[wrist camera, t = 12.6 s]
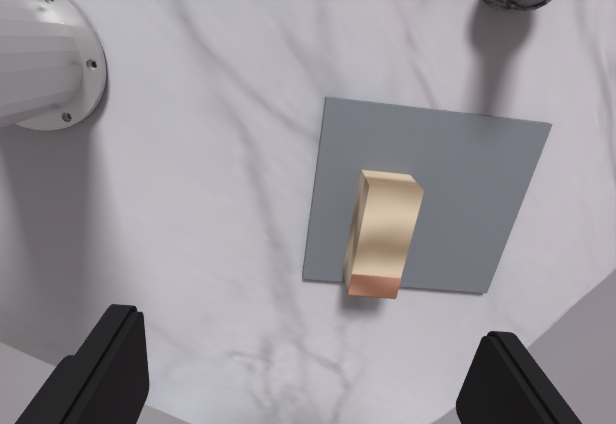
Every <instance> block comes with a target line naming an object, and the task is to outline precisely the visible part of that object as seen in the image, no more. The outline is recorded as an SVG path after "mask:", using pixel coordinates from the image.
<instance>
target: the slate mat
mask: <svg viewBox="0 0 616 424" xmlns="http://www.w3.org/2000/svg"><path fill="white" fill-rule="evenodd" d="M551 127H552V124H550V123H545V122H537V121H528V120H520V119H511V118H503V117H494V116H486V115H477V114H468V113H460V112H451V111H443V110H434V109H426V108H417V107H409V106H400V105H392V104H383V103H375V102H366V101H358V100H349V99H341V98H332V97H326V98H325V105H324V113H323V121H322V128H321V136H320V144H319V151H318V159H317V166H316V174H315V182H314V189H313V197H312V205H311V212H310V220H309V227H308V235H307V243H306V250H305V258H304V265H303V273H302V279H312V280H325V281H338V282H345V280H344V275H343V266H344V260H345V255H346V250H347V244H348V239H349V234H350V228H351V223H352V217H353V212H354V207H355V201H356V196H357V191H358V185H359V180H360V175H361V170H369V171H379V172H388V173H398V174H407V175H411V176H412V178H413V179H414V180H415V181H416V182H417V183H418V185H419V186H420V187H421V188H422V189H423V190H424V194H423V198H422V201H421V205H420V209H419V213H418V216H417V220H416V224H415V227H414V231H413V235H412V239H411V242H410V246H409V250H408V254H407V257H406V261H405V265H404V269H403V272H402V276H401V282H400V286H401V287H414V288H426V289H439V290H452V291H464V292H477V293H487V292H488V289H489V286H490V284H491V281H492V279H493V276H494V274H495V271H496V268H497V266H498V263H499V261H500V258H501V256H502V253H503V250H504V248H505V245H506V243H507V240H508V238H509V235H510V232H511V230H512V227H513V225H514V222H515V220H516V217H517V214H518V212H519V209H520V207H521V204H522V201H523V199H524V196H525V194H526V191H527V189H528V186H529V183H530V181H531V178H532V176H533V173H534V171H535V168H536V165H537V163H538V160H539V158H540V155H541V153H542V150H543V147H544V145H545V142H546V140H547V137H548V135H549V132H550V129H551Z"/></svg>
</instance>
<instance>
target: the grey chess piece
mask: <svg viewBox="0 0 616 424" xmlns="http://www.w3.org/2000/svg"><path fill="white" fill-rule="evenodd" d="M484 1H485V2H486V3H487V4H488V5H489V6H490V7H492V8H494V9H498V10H508V9H515V10H520V11H529V10H535V9H537V8H540V7H542V6H544V5H546V4H547V3H549V2H550V1H551V0H484Z"/></svg>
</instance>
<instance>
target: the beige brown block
mask: <svg viewBox="0 0 616 424" xmlns="http://www.w3.org/2000/svg"><path fill="white" fill-rule="evenodd" d="M423 194H424V190H423V189H422V188H421V187H420V186H419V185H418V183H417V182H416V181H415V180H414V179H413V178H412V176H411V175H407V174H398V173H388V172H379V171H369V170H361V175H360V180H359V185H358V191H357V196H356V201H355V207H354V212H353V217H352V223H351V228H350V234H349V239H348V244H347V250H346V255H345V260H344V266H343V275H344V280H345V285H346V289H347V294H348V295H351V296H364V297H377V298H390V299H395V298H396V297H397V293H398V290H399V286H400V282H401V276H402V272H403V269H404V265H405V261H406V257H407V254H408V250H409V246H410V242H411V239H412V235H413V231H414V227H415V224H416V220H417V216H418V213H419V209H420V205H421V201H422V198H423Z"/></svg>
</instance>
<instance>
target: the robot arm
mask: <svg viewBox="0 0 616 424" xmlns="http://www.w3.org/2000/svg"><path fill="white" fill-rule="evenodd" d="M94 62H96V65H97V67H95V66H94ZM105 82H106V63H105V58H104V54H103V49H102V46H101V44H100V41H99V39H98V36H97V34H96V32H95V30H94V28H93V27H92V25H91V24H90V22H89V20H88V19H87V17H86V16H85V15H84V13H83V12H82V11H81V10H80V9H79V7H78V6H77V5H76V4H75V3H74V2H73V1H72V0H54V1H53V0H0V128H2V127H5V126H9V125H12V124H15V125H18V126H21V127H23V128H28V129H33V130H38V131H54V130H59V129H64V128H67V127H70V126H73V125H75V124H77V123H79V122H81V121H82V120H84V119H86V118H87V117H88V116H89V115H90V114H91V113H92V112H93V111H94V110H95V108H96V107H97V105H98V104H99V102H100V100H101V97H102V95H103V92H104V89H105ZM70 115H71V117H72V118H71V117H70ZM148 392H149V373H148V361H147V350H146V338H145V327H144V316H143V313H142V312H137V308H136V306H131V305H117V304H112V305H110V306H109V307H108V309H107V310H106V312H105V313H104V314H103V316H102V317H101V319H100V320H99V322H98V323H97V324H96V326H95V327H94V329H93V330H92V332H91V333H90V334H89V336H88V337H87V339H86V340H85V342H84V343H83V344H82V346H81V347H80V349H79V350H78V352H77V353H76V354H75V355H68V356H67V357H65V358H63V360H62V361H61V362H60V363H59V364H58V365H57V367H56V368H55V370H54V371H53V372H52V374H51V375H50V376H49V378H48V379H47V380H46V382H45V383H44V384H43V386H42V387H41V389H40V390H39V391H38V393H37V394H36V396H35V397H34V398H33V399H32V401H31V402H30V404H29V405H28V406H27V408H26V409H25V411H24V412H23V413H22V414H21V416H20V417H19V419H18V420H17V421H16V423H15V424H136V423H137V420H138V418H139V415H140V412H141V411H142V408H143V406H144V404H145V401H146V399H147V396H148ZM456 411H457V415H458V417H459V419H460V422H461V424H582V423H581V422H580V420H579V419H578V418H577V416H576V415H575V413H574V412H573V411H572V410H571V408H570V407H569V405H568V404H567V403H566V402H565V400H564V399H563V397H562V396H561V395H560V394H559V392H558V391H557V389H556V388H555V387H554V386H553V384H552V383H551V381H550V380H549V379H548V378H547V376H546V375H545V373H544V372H543V371H542V369H541V368H540V367H539V366H538V364H537V363H536V362H535V360H534V359H533V357H532V356H531V355H530V353H529V352H528V351H527V349H526V348H525V347H524V345H523V344H522V343H521V341H520V340H519V339H518V337H517V336H516V335H515V334H513V333H511V332H498V331H490V332H489V333H488V334H487V336H484V337H482V339H481V341H480V344H479V346H478V349H477V351H476V354H475V356H474V359H473V361H472V364H471V366H470V368H469V371H468V373H467V376H466V378H465V381H464V383H463V386H462V388H461V391H460V393H459V396H458V398H457V401H456Z"/></svg>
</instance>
